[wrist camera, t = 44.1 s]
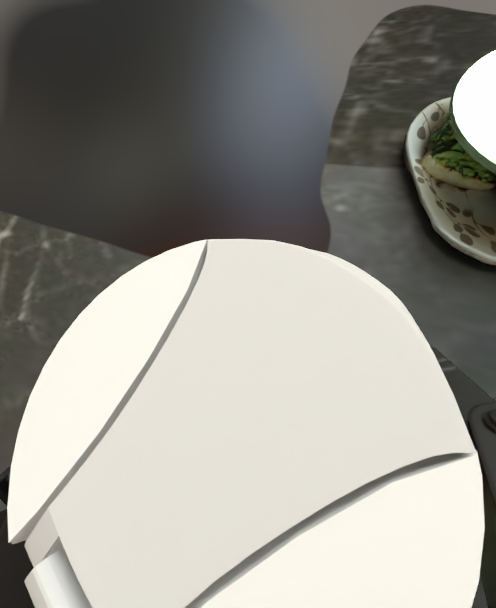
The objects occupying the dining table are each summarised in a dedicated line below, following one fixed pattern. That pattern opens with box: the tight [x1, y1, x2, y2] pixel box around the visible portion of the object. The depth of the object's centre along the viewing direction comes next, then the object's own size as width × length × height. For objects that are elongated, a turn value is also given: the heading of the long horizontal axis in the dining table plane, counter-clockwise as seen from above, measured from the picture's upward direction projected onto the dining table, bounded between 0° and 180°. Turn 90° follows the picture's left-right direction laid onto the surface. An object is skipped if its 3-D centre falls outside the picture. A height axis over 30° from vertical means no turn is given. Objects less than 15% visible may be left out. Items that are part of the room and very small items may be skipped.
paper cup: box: [7, 239, 485, 608], centre depth 10 cm, size 8×8×14 cm
